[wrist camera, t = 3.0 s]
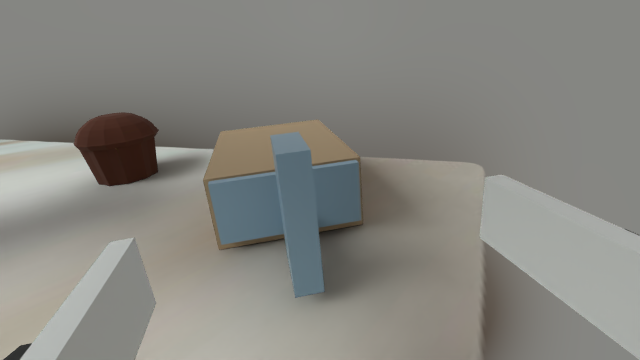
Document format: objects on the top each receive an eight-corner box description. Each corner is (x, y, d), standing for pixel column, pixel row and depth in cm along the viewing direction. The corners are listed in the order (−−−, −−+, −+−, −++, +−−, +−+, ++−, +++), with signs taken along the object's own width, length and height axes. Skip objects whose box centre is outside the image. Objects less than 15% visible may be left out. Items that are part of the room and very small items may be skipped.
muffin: (82, 195, 48) (57, 127, 44) (92, 174, 57) (72, 116, 54) (170, 176, 52) (154, 113, 49) (166, 159, 62) (152, 105, 58)
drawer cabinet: (363, 224, 33) (360, 157, 31) (218, 249, 31) (202, 179, 28) (321, 164, 52) (317, 119, 49) (229, 177, 49) (220, 131, 47)
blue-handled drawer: (400, 277, 23) (401, 137, 20) (211, 316, 21) (172, 168, 18) (319, 160, 50) (313, 91, 46) (231, 173, 48) (217, 102, 44)
